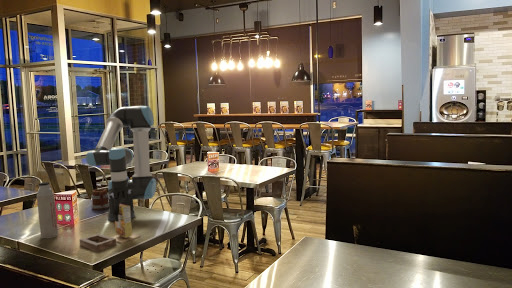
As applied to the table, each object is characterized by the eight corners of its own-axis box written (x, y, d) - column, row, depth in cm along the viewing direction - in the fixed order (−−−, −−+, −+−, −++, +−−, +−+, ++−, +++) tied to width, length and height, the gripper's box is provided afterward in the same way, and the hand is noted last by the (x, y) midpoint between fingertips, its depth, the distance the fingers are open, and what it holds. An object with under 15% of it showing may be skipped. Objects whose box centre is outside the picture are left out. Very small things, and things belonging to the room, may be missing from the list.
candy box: (115, 234, 210) (112, 204, 208) (122, 232, 213) (120, 202, 212) (125, 238, 205) (122, 207, 203) (133, 235, 208) (130, 205, 206)
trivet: (127, 233, 217) (127, 232, 217) (140, 236, 210) (140, 235, 210) (108, 239, 208) (108, 238, 208) (121, 243, 201) (120, 242, 201)
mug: (109, 203, 281) (107, 182, 277) (112, 212, 268) (111, 190, 265) (90, 206, 275) (88, 185, 271) (93, 215, 263) (91, 192, 259)
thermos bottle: (61, 233, 221) (56, 181, 218) (51, 238, 213) (45, 184, 210) (48, 233, 223) (42, 181, 220) (37, 238, 215) (31, 184, 212)
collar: (99, 239, 209) (98, 233, 208) (116, 245, 199) (115, 238, 199) (80, 245, 201) (79, 239, 201) (97, 251, 192) (96, 245, 191)
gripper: (130, 175, 215) (133, 220, 217) (98, 182, 201) (103, 229, 204) (138, 177, 210) (142, 222, 213) (107, 183, 197) (112, 232, 199)
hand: (123, 226), depth 208 cm, fingers closed on candy box, 4 cm apart
